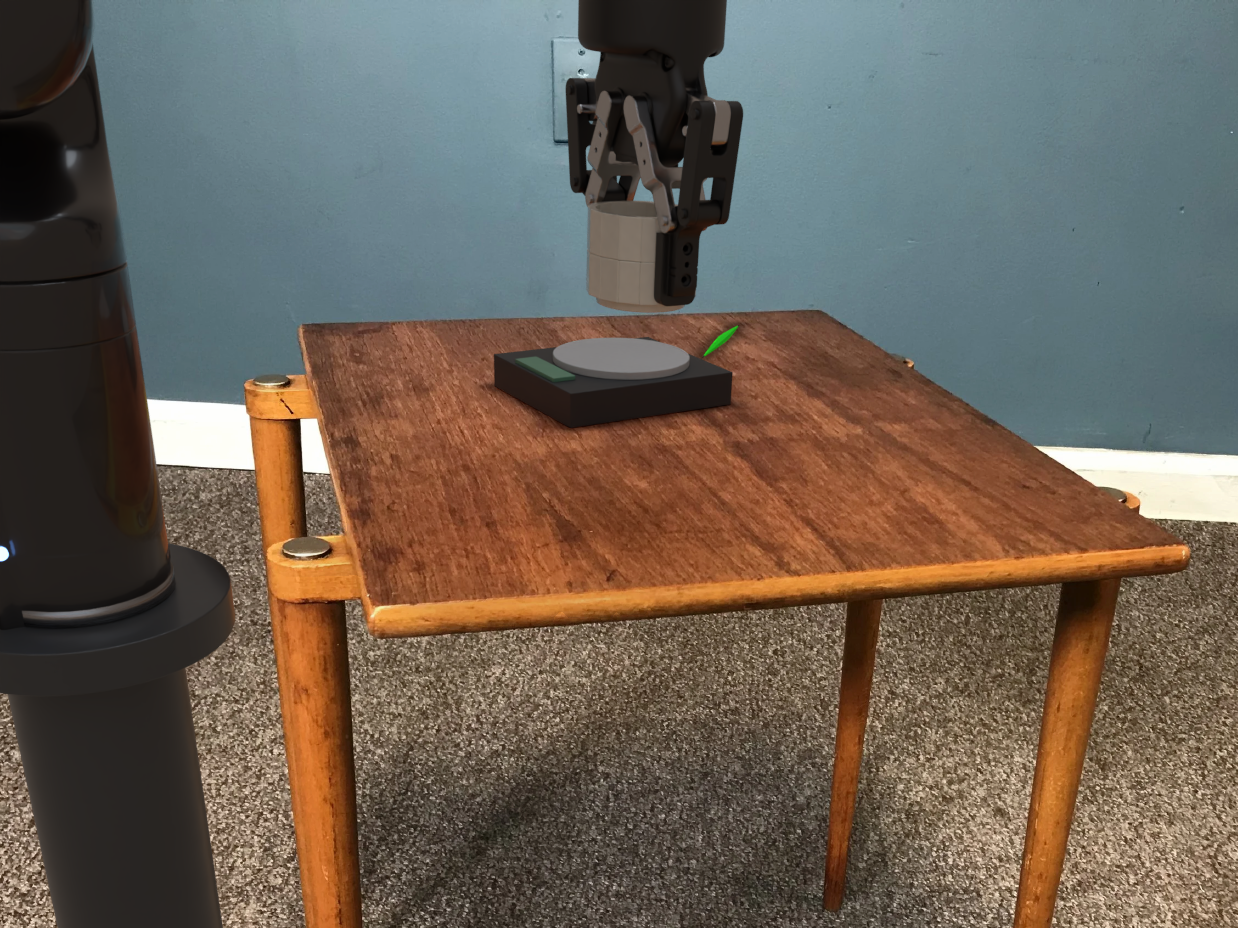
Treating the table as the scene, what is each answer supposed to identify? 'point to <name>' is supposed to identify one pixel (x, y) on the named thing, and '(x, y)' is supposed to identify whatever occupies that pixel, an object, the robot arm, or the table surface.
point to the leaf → (720, 340)
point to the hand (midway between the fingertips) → (641, 290)
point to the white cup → (623, 256)
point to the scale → (611, 380)
